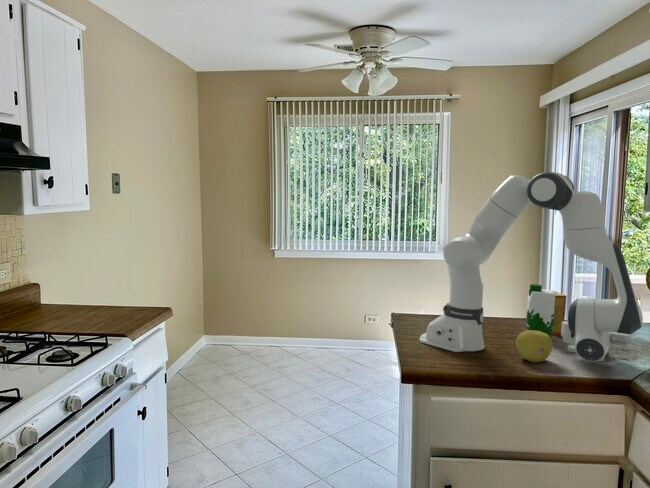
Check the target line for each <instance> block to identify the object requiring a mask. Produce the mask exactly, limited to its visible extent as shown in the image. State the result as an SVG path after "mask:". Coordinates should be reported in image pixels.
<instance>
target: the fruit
mask: <svg viewBox="0 0 650 488" xmlns="http://www.w3.org/2000/svg"><path fill="white" fill-rule="evenodd" d="M515 347H516V350H517V353H518V354H519V355H520V356H521V357H522V358H524V359H525V360H526V361H528V362H531V363H541V362H545V360H547V359H548V357H549V356H550V355H551V354H552V351H553V350H552V349H553V340H552V337H551V338H550V336H549V335H547V334H546V333H543V332H540V331H534V330H526V329H525V330H523V331H522V332H520V333H519V335H518V336H517V337H516V340H515Z"/></svg>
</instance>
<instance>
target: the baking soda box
mask: <svg viewBox="0 0 650 488" xmlns="http://www.w3.org/2000/svg"><path fill="white" fill-rule="evenodd" d="M551 291H552V292H554V293H555V306H554V319H553V329H552V336H561V325H562V321H566V308H567V307H566V305H567V295H565V294H563V293H560V292H558V291H555V290H551Z"/></svg>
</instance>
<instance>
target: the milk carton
mask: <svg viewBox="0 0 650 488" xmlns="http://www.w3.org/2000/svg"><path fill="white" fill-rule="evenodd" d="M527 289H528V290H527V304H526V317H525V318H526V320H525V331H526V330H534V331H540V332H543V333H546V334H547V335H549V336H550V338H551V339H552V336H553V335H552V329H553V319H554V306H555V293H554V292H552V291H553V290H551V289H543V285H541V284H538V283H536V284H535V283H531V284H530V285H529V288H527Z"/></svg>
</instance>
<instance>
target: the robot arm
mask: <svg viewBox="0 0 650 488" xmlns="http://www.w3.org/2000/svg"><path fill="white" fill-rule="evenodd" d="M532 204H533V205H534V206H536V207H539V208H542V209H547V210H553V211H557V212H559V213H560V215H561V221H562V230H563V240H564V245H565V247H566V248H567V250H568V251H569V252H570V253H572V254H573V255H574V256H576V257H579V258H581V259H584V260H587V261H591V262H595V263H597V264H601V265H603V266H605V267H606V268H607V269H609V271H610V273H611V274H612V277H613V280H614V281H613V282H614V285H615V288H616V292H617V298H613V299H611V298H576V299H575V300H573V302H571V304H570V305H569V307H568V308H569V309H568V312H567V313H568V314H567V321H566V320H565V321H562V325H561V335H560V336H561V337H562V341H563V343H567V344H568V345H575V350H576V352H577V353H576V352H575V353H576V354H577V355H578V356H579V357H580V358H581V359H582V360H585V361H587V362H600V361H599V360H601V359H603V358H604V359H605V358H606V355H607V354H608V352H609V348H610V345H617V346H623V347H628V346H631V345H632V344H634V339H633V335H634V333H636V332H637V331H639V330H641V328H642V327H643V322H644V321H643V320H644V318H643V313H642V310H641V307H640V305H639V304H638V301H637V299H636V296H635V292H634V288H633V284H632V281H631V278H630V274H629V271H628V267H627V265H626V264H627V263H626V261H625V258H624V254H623V251H622V250H621V248H620V246H619V245H618V244H616V243H614V242H612V240H610V238H609V236H608V233H607V230H606V219H605V213H604V209H603V205H602V202H601V199H600V197H599V195H598V194H596V193H594V192H592V191H587V190H586V191H583V190H580V191H579V190H575V188H574V184H573V181H572V179H570V178H569V177H568V176H566V175H565V174H562V173H559V172H554V171H552V172H551V171H550V172H549V171H546V172H545V171H544V172H540V173H538V174H536V175H535V176H533V177H532V178H531V179H528V178H526V177H524V176H522V175H517V174H515V175H510V176H509V177H507V178H506V179H505V180H504V181H502V183H501V184H500V185H499V186H498V187H497V188H496V189H495V190H494V191H493V193H492V194H491V195H490V196H489V197H488V199H487V200H486V202H485V203H484V204H483V205H482V207H481V208H480V209H479V211H478V212H477V213H476V215H475V217H474V219H473V223H472V224H471V226H470V228H469V230H468V231H467V233H465V235H464V236H457V237H454V238H453V239H451V240H450V241H448V243H446V245H445V246H444V249H443V252H442V253H443V259H444V261H445V263H446V264H447V269H448V276H449V302H448V303H446V304H445V305H444V306H443V307H442V312H443V314H441V315H440V316H438V317H436V318H435V319H434V320H432V321H430V322H429V324H428V325H427V328H426V332H424V333H422V334H421V335H420V337H419V342H420V343H422V344H425V345H429V346H433V347H437V348H440V349H444V350H447V351H451V352H454V353H460V352H478V351H482V350H484V349H485V348H486V347H485V342H484V336H483V335H484V334H483V325H482V324H483V322H484V307H483V297H484V283H483V282H482V278H481V270H480V265H483V264H485V263H486V261H488V260H489V258H490V257H491V255H492V253H493V252H494V251H495V249H496V247H497V246H498V245H499V243H500V241H501V240H502V238H503V237H504V235H505V234H506V233H507V231H508V230H509V229H510V228H511V226H513V224H514V222H515V221H517V219H518V218H519V216H520V215H521V214H522V213H523V212H524V210H525V209H526V208H527V207H529V205H532Z"/></svg>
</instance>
